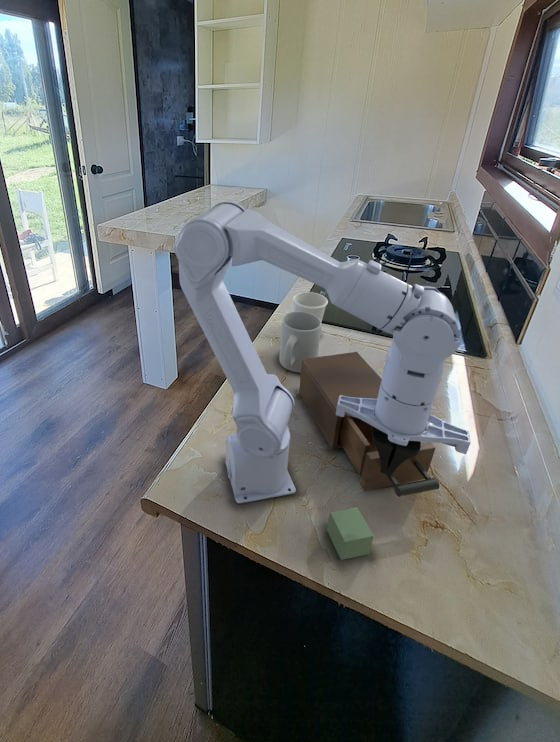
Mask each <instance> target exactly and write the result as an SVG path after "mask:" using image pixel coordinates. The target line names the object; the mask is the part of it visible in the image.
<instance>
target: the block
mask: <svg viewBox="0 0 560 742" xmlns="http://www.w3.org/2000/svg"><path fill="white" fill-rule="evenodd" d="M326 531H327V533H328V536H329V538H330V540H331V542H332V544H333V545H334V549H335V551H336V552H337V555H338V557H339V559H340V561H343V560H347V559H352V558H357V557H358V558H359V557H362V556H367V555H369V554H370V551H371V547H372V543H373V539H374V534H373V532H372V530H371V528H370V527H369V525H368V524H367V522H366V520H365V518H364V516H363V515H362V513H361V511H360V509H359V507H357V506H355V507H351V508H346V509H341V510H335V511H330V512H329V517H328V523H327V528H326Z"/></svg>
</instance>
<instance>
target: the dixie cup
mask: <svg viewBox="0 0 560 742" xmlns="http://www.w3.org/2000/svg"><path fill="white" fill-rule="evenodd" d="M292 302H293V312H307V313H311V314H313V315H315V316H317V317H318V318H319V319H320V320H321V323H322V321H323V319H324V318H323V317H324V315H325V311H326V308H327V305H328V303H329V301H328V298H327V297H325V296H324V295H323V294H320V293H317V292H315V291H314V292H313V291H302V292H299V293H295V294H294V295H293V297H292Z"/></svg>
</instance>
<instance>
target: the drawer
mask: <svg viewBox="0 0 560 742" xmlns="http://www.w3.org/2000/svg"><path fill="white" fill-rule="evenodd" d="M372 431H373V426H372V425H370V424H368V423H366V422H364V421H363V420H361V419H359V418H355V417H352V416H349V415H345V416H344V417H342V418H341V424H340V429H339V435H338V441H339V442H340V444H341V445H342V447H343V448H342V449H343V450H344V452H345V453H346V455H347V456H348V458H349V460H350V461H351V463H352V464H353V466H354V468H355V469H356V471H357V472H358V475H360V480H359V485H360V487H361V488H362V490H363V491H369V490H374V489H379V488H384V487H391V486H393V490H394V493H395V494H396V496H397V497H404V496H410V495H415V494H420V493H425V492H430V491H436V490H439V489H440V482H439V481H438V480H437V479H436V477H435V478H434V477H431V476H430V475H429V473H428V472H429V469H430V466H431V463H432V460H433V457H434V455H435V451H436V446H435V445H434V444H433V442H421V448H420V451H419V453H418V454H417V456H414V457H411V458H409V459H407V460H406V461H404V462H403V463H402V464H401V465H400V466H399V467H398V468H397V469H396V470H395V471H394V473H393V474H392V476H390V475H387V474H384V473H381V472H380V469H381V463H380V457H379V453H378V451H377V448H376V446H375V444H374V443H373V439H372Z"/></svg>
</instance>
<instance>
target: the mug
mask: <svg viewBox="0 0 560 742" xmlns="http://www.w3.org/2000/svg"><path fill="white" fill-rule="evenodd" d="M321 333H322V322H321V320H320V319H319V318H318V317H317V316H315V315H313V314H311V313H307V312H294V311H292V312H287V313H286V314H285V315H283V317H282V320H281V329H280V346H279V356H278V358H279V363H280V365H281V366H282V367H283V368H284V369H286V370H288V371H290V372H293V373H298V374H301V367H302V359H307V358H314V357H319V351H320V350H319V349H320V342H321Z"/></svg>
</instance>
